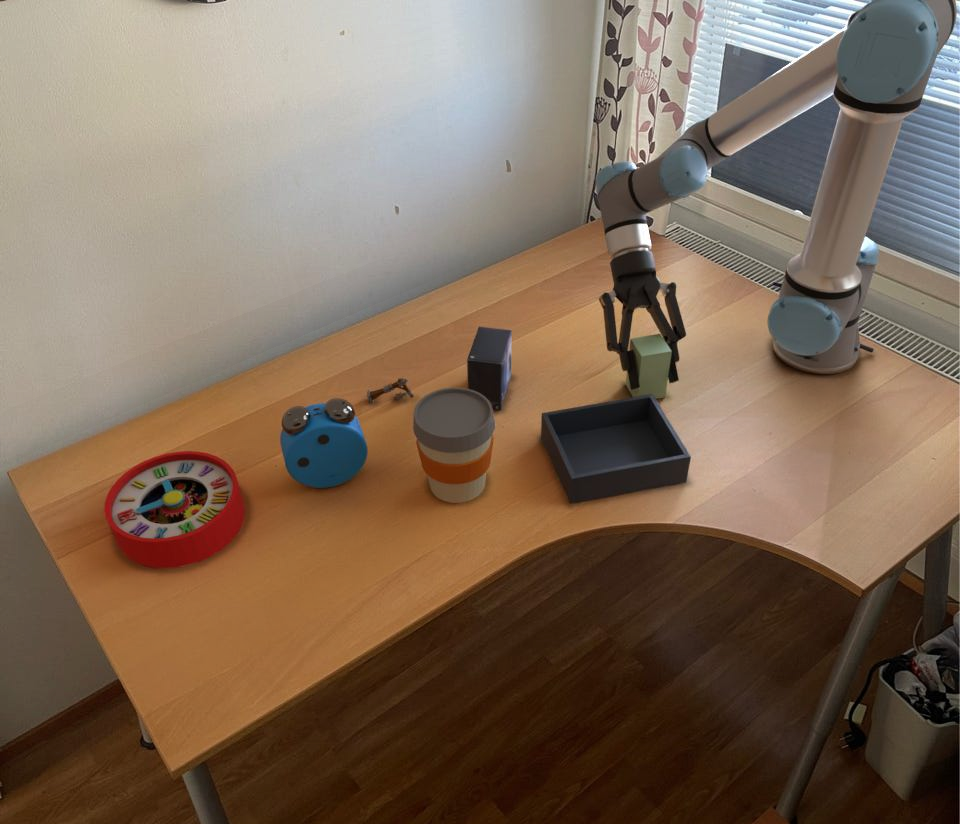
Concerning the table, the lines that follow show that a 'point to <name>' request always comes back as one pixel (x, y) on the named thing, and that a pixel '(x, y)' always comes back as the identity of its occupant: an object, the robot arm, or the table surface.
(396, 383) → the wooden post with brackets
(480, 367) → the small box
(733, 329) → the table surface
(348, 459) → the alarm clock
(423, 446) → the reusable coffee cup
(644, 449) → the bin
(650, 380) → the block
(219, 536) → the toy clock
